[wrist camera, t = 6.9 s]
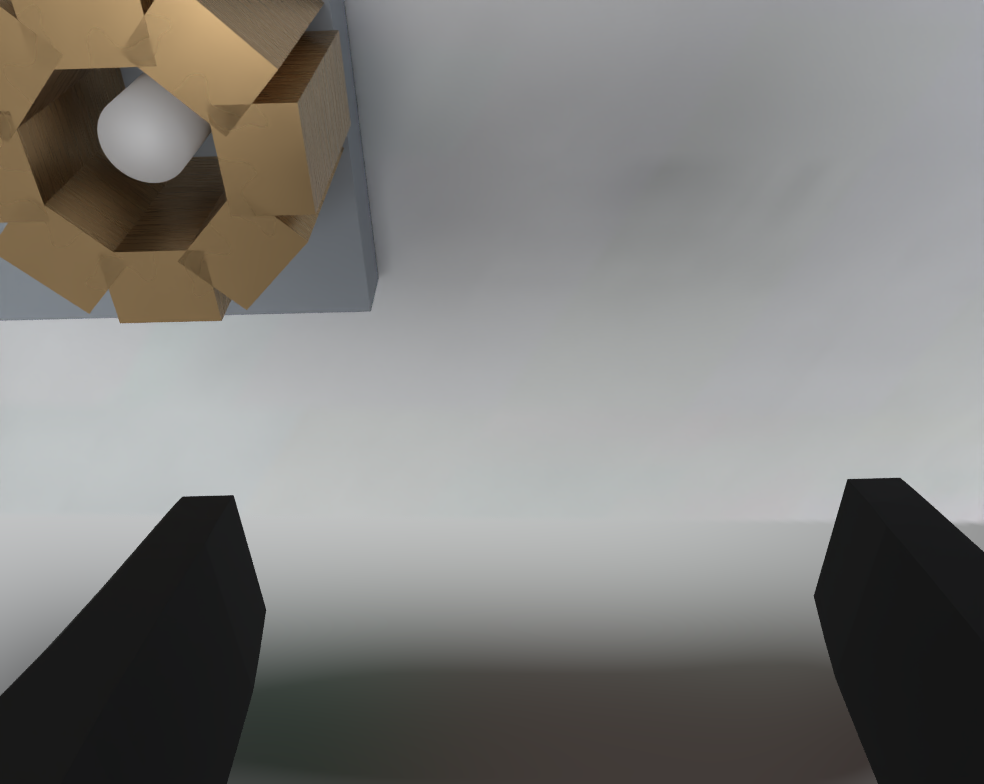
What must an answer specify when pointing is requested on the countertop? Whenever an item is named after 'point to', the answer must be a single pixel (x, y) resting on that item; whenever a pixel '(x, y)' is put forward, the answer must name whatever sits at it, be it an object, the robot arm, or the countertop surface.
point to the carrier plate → (184, 134)
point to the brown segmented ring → (204, 180)
